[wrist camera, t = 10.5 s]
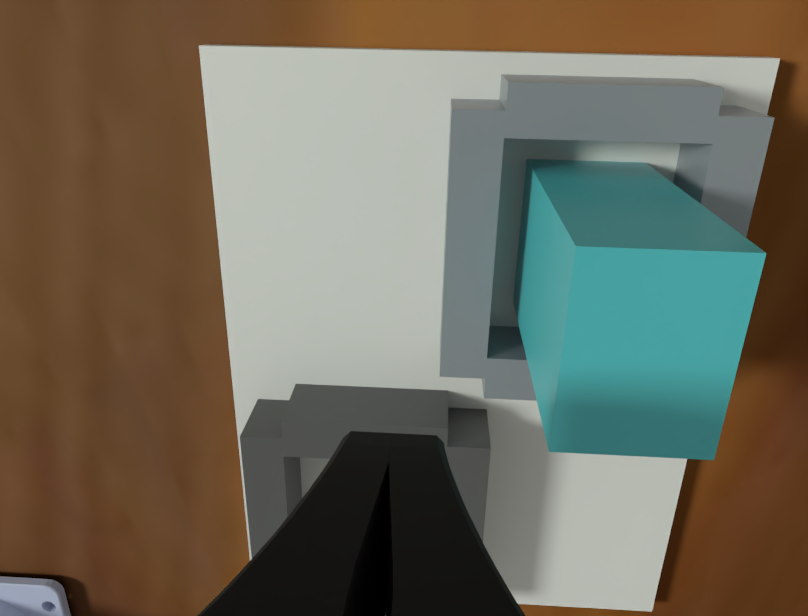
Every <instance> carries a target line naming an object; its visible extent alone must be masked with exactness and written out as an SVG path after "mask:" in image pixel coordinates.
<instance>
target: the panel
mask: <svg viewBox="0 0 808 616" xmlns="http://www.w3.org/2000/svg"><path fill="white" fill-rule="evenodd" d="M199 52H200V62H201V72H202V82H203V93H204V103H205V113H206V123H207V133H208V143H209V153H210V163H211V173H212V183H213V193H214V203H215V213H216V223H217V233H218V243H219V253H220V263H221V273H222V283H223V293H224V303H225V313H226V323H227V333H228V344H229V354H230V364H231V374H232V384H233V394H234V404H235V414H236V424H237V434H238V444H239V454H240V464H241V474H242V484H243V494H244V504H245V514H246V524H247V534H248V544H249V554H250V560H251V559H252V558H253V557H254V556H255V555H256V554H257V553H258V551H259V550H260V549H261V548H262V547H263V546H264V545H265V543H266V542H267V541H268V540H269V539H270V538H271V537H272V536H273V534H274V533H275V532H276V531H277V530H278V528H279V527H280V526H281V525H282V524H283V522H284V521H285V520H286V518H287V517H288V516H289V515H290V513H291V512H292V511H293V509H294V508H295V507H296V506H297V504H298V503H299V502H300V500H301V499H302V498H303V497H304V495H305V494H306V493H307V491H308V490H309V489H310V487H311V486H312V485H313V483H314V482H315V480H316V479H317V478H318V476H319V475H320V473H321V472H322V470H323V469H324V467H325V466H326V465H327V463H328V462H329V460H330V458H331V457H332V455H333V454H334V452H335V451H336V449H337V447H338V446H339V444H340V442H341V440H342V439H343V437H344V436H346V435H347V434H348V433H349V432H350V431H361V432H381V433H401V434H420V435H437V436H438V437H439V438H440V439H441V440H442V441H443V442H444V446H445V451H446V455H447V459H448V462H449V466H450V469H451V472H452V474H453V477H454V480H455V482H456V485H457V487H458V490H459V492H460V495H461V497H462V500H463V502H464V504H465V506H466V509H467V511H468V513H469V515H470V517H471V519H472V521H473V523H474V525H475V527H476V529H477V531H478V533H479V535H480V538H481V540H482V542H483V544H484V546H485V548H486V549H487V551H488V553H489V555H490V557H491V559H492V561H493V562H494V564H495V566H496V568H497V570H498V571H499V573H500V575H501V576H502V578H503V580H504V582H505V583H506V585H507V587H508V589H509V590H510V592H511V594H512V595H513V597H514V599H515V600H516V602H517V604H531V605H548V606H565V607H583V608H600V609H617V610H635V611H652V609H653V605H654V600H655V596H656V592H657V588H658V583H659V579H660V575H661V570H662V566H663V562H664V557H665V553H666V549H667V544H668V540H669V536H670V531H671V527H672V523H673V519H674V514H675V510H676V506H677V501H678V497H679V493H680V488H681V484H682V480H683V475H684V471H685V467H686V463H687V459H681V458H661V457H641V456H621V455H601V454H580V453H560V452H549V451H548V446H547V442H546V438H545V434H544V430H543V425H542V421H541V417H540V413H539V408H538V404H537V400H536V396H535V392H534V387H533V383H532V379H531V375H530V371H529V366H528V362H527V358H526V354H525V350H524V345H523V341H522V337H521V333H520V329H519V324H518V320H517V316H516V312H515V308H514V303H513V298H514V288H515V277H516V267H517V256H518V245H519V235H520V224H521V214H522V203H523V192H524V182H525V171H526V161H527V159H550V160H582V161H614V162H645V163H647V164H648V165H649V166H651V167H652V168H653V169H655V170H656V171H657V172H659V173H660V174H661V175H663V176H664V177H665V178H667V179H668V180H669V181H671V182H672V183H673V184H675V185H676V186H677V187H679V188H680V189H681V190H683V191H684V192H685V193H687V194H688V195H689V196H691V197H692V198H693V199H695V200H696V201H697V202H699V203H700V204H701V205H703V206H704V207H705V208H707V209H708V210H709V211H711V212H712V213H713V214H715V215H716V216H717V217H719V218H720V219H721V220H723V221H724V222H726V223H727V224H728V225H730V226H731V227H732V228H734V229H735V230H736V231H738V232H739V233H740V234H742V235H743V236H744V237H747V232H748V228H749V224H750V220H751V216H752V211H753V207H754V203H755V199H756V194H757V190H758V186H759V182H760V178H761V173H762V169H763V165H764V161H765V156H766V152H767V148H768V144H769V140H770V135H771V131H772V127H773V123H774V117H771V116H768V115H767V113H768V109H769V105H770V100H771V96H772V92H773V87H774V83H775V79H776V74H777V70H778V66H779V62H780V58H773V57H748V56H703V55H658V54H613V53H568V52H522V51H477V50H432V49H387V48H342V47H297V46H252V45H199ZM385 616H386V614H385Z"/></svg>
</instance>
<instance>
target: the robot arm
mask: <svg viewBox="0 0 808 616" xmlns="http://www.w3.org/2000/svg"><path fill="white" fill-rule="evenodd" d="M385 614H386V616H525V615H524V613H523V612H522V610H521V608H520V607H519V605H518V604H517V602H516V600H515V599H514V597H513V595H512V594H511V592H510V590H509V589H508V587H507V585H506V583H505V582H504V580H503V578H502V576H501V575H500V573H499V571H498V570H497V568H496V566H495V564H494V562H493V561H492V559H491V557H490V555H489V553H488V551H487V549H486V548H485V546H484V544H483V542H482V540H481V538H480V535H479V533H478V531H477V529H476V527H475V525H474V523H473V521H472V519H471V517H470V515H469V513H468V511H467V509H466V506H465V504H464V502H463V500H462V497H461V495H460V492H459V490H458V487H457V485H456V482H455V480H454V477H453V474H452V472H451V469H450V466H449V462H448V459H447V455H446V451H445V446H444V442H443V441H442V440H441V439H440V438H439V437H438V436H437V435H420V434H401V433H381V432H361V431H350V432H349V433H348V434H347V435H346V436H344V437H343V439H342V440H341V442H340V444H339V446H338V447H337V449H336V451H335V452H334V454H333V455H332V457H331V458H330V460H329V462H328V463H327V465H326V466H325V467H324V469H323V470H322V472H321V473H320V475H319V476H318V478H317V479H316V480H315V482H314V483H313V485H312V486H311V487H310V489H309V490H308V491H307V493H306V494H305V495H304V497H303V498H302V499H301V500H300V502H299V503H298V504H297V506H296V507H295V508H294V509H293V511H292V512H291V513H290V515H289V516H288V517H287V518H286V520H285V521H284V522H283V524H282V525H281V526H280V527H279V528H278V530H277V531H276V532H275V533H274V534H273V536H272V537H271V538H270V539H269V540H268V541H267V542H266V543H265V545H264V546H263V547H262V548H261V549H260V550H259V551H258V553H257V554H256V555H255V556H254V557H253V558H252V559H251V560H250V562H249V563H248V564H247V565H246V566H245V567H244V568H243V569H242V571H241V572H240V573H239V574H238V575H237V576H236V577H235V578H234V579H233V580H232V581H231V582H230V584H229V585H228V586H227V587H226V588H225V589H224V590H223V591H222V592H221V593H220V594H219V595H218V596H217V597H216V598H215V599H214V600H213V601H212V602H211V603H210V604H209V605H208V606H207V607H206V608H205V609H204V610H203V611H202V612H201V613H200V614H199V615H198V616H385ZM0 616H71V614H70V610H69V606H68V602H67V598H66V594H65V590H64V588H63V586H62V585H61V584H60V583H59V582H57V581H55V580H52V579H39V578H22V577H5V576H0Z"/></svg>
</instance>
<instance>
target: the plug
mask: <svg viewBox="0 0 808 616" xmlns="http://www.w3.org/2000/svg"><path fill="white" fill-rule="evenodd" d="M765 257H766V252H764V251H763V250H762V249H760V248H759V247H758V246H756V245H755V244H754V243H752V242H751V241H750V240H748V239H747V238H746V237H744V236H743V235H742V234H740V233H739V232H738V231H736V230H735V229H734V228H732V227H731V226H730V225H728V224H727V223H726V222H724V221H723V220H721V219H720V218H719V217H717V216H716V215H715V214H713V213H712V212H711V211H709V210H708V209H707V208H705V207H704V206H703V205H701V204H700V203H699V202H697V201H696V200H695V199H693V198H692V197H691V196H689V195H688V194H687V193H685V192H684V191H683V190H681V189H680V188H679V187H677V186H676V185H675V184H673V183H672V182H671V181H669V180H668V179H667V178H665V177H664V176H663V175H661V174H660V173H659V172H657V171H656V170H655V169H653V168H652V167H651V166H649V165H648V164H647V163H645V162H614V161H582V160H550V159H527V161H526V171H525V182H524V192H523V203H522V214H521V224H520V235H519V245H518V256H517V267H516V277H515V288H514V298H513V303H514V308H515V312H516V316H517V320H518V324H519V329H520V333H521V337H522V341H523V345H524V350H525V354H526V358H527V362H528V366H529V371H530V375H531V379H532V383H533V387H534V392H535V396H536V400H537V404H538V408H539V413H540V417H541V421H542V425H543V430H544V434H545V438H546V442H547V446H548V451H549V452H560V453H580V454H601V455H621V456H641V457H661V458H681V459H702V460H714V458H715V454H716V450H717V446H718V442H719V438H720V434H721V430H722V426H723V422H724V419H725V415H726V411H727V407H728V403H729V399H730V395H731V391H732V387H733V383H734V379H735V375H736V371H737V367H738V364H739V360H740V356H741V352H742V348H743V344H744V340H745V336H746V332H747V328H748V324H749V320H750V316H751V312H752V309H753V305H754V301H755V297H756V293H757V289H758V285H759V281H760V277H761V273H762V269H763V265H764V261H765Z"/></svg>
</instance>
